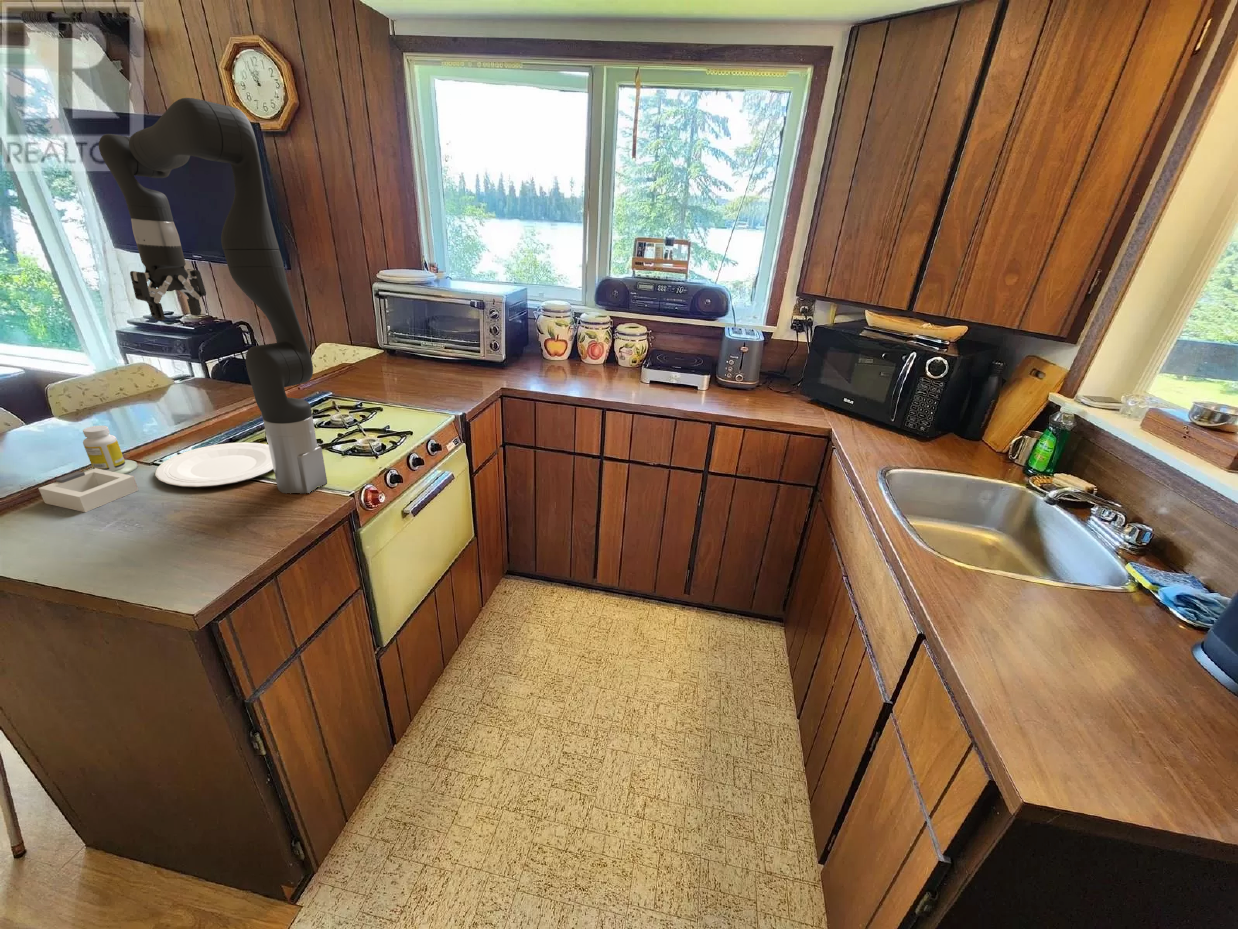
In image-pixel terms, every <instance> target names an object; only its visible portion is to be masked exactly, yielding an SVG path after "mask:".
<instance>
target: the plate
mask: <svg viewBox="0 0 1238 929" xmlns="http://www.w3.org/2000/svg"><path fill="white" fill-rule="evenodd" d="M271 471H274V469H273V464H272V459H271V455H270V450H269V445H268V444H265V443H260V442H244V441H243V442H227V443H219V444H213V445H207V446H203V447H197V448H195V449H191V450H188V451H185V452H184V451H183V452H182V453H180V454H179V453H178V454H177V455H174V456H172V457H170V458H168V459H166V460H165V461H163V462H162V463H161V464H159V466H157V467H156V469H155V474H154V475H155V477H156V479H157V480H158V481H160V483H161V482H162V483H164V484H166V485H170V486H175V487H181V488H210V487H220V486H227V485H232V484H237V483H241V482H245V481H249V480H252V479H255V478H259V477H261V476H264V475H266V474H268V473H269V472H271Z"/></svg>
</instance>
